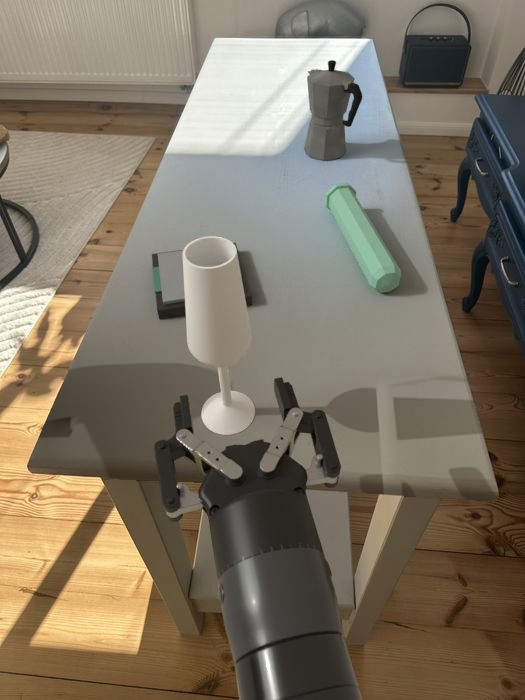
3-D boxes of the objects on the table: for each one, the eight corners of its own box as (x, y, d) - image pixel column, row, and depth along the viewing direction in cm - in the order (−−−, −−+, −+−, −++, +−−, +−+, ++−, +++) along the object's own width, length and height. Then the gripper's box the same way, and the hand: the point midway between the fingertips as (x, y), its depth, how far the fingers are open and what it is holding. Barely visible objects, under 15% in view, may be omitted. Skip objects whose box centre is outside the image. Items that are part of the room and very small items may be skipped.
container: (404, 263, 69) (350, 176, 86) (366, 280, 70) (320, 191, 87) (411, 289, 74) (358, 202, 90) (374, 305, 75) (329, 216, 91)
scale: (158, 319, 71) (155, 307, 69) (153, 262, 80) (150, 250, 79) (252, 304, 73) (251, 292, 71) (236, 251, 82) (235, 239, 80)
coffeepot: (289, 146, 109) (291, 56, 95) (321, 135, 112) (327, 47, 99) (335, 173, 100) (345, 78, 87) (368, 159, 104) (382, 67, 90)
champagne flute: (251, 437, 57) (242, 278, 39) (196, 432, 58) (162, 274, 40) (258, 392, 62) (252, 231, 44) (206, 388, 62) (180, 228, 44)
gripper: (176, 616, 35) (160, 429, 45) (364, 570, 36) (305, 401, 47) (158, 582, 29) (144, 379, 40) (381, 531, 31) (310, 350, 42)
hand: (232, 391), depth 44 cm, fingers open, 8 cm apart
